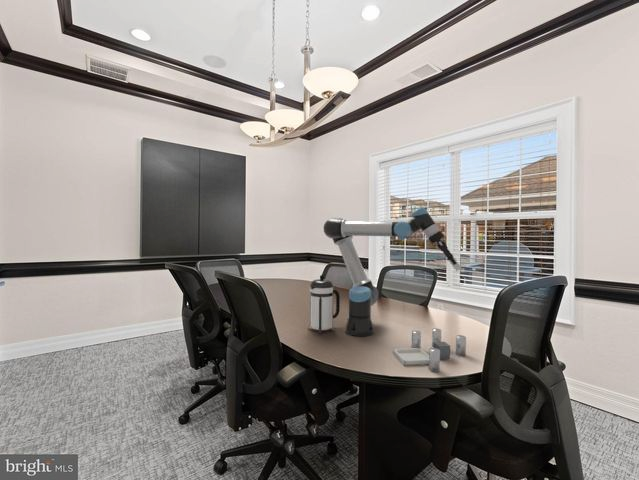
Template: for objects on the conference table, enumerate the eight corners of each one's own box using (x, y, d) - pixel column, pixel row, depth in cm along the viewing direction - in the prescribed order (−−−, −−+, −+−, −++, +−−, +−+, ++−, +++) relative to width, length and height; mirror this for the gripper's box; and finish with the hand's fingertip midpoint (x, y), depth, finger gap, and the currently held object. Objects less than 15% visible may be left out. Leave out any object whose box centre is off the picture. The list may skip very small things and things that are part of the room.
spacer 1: (413, 350, 139) (413, 333, 139) (410, 347, 143) (410, 330, 143) (422, 350, 140) (422, 333, 139) (418, 347, 144) (418, 330, 143)
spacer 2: (434, 348, 143) (434, 331, 142) (430, 345, 147) (430, 328, 146) (442, 347, 143) (443, 330, 143) (438, 344, 147) (438, 328, 147)
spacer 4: (458, 356, 133) (459, 338, 133) (453, 352, 137) (454, 335, 137) (467, 356, 134) (468, 338, 134) (462, 352, 138) (462, 334, 138)
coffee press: (334, 335, 159) (335, 277, 158) (304, 333, 162) (305, 276, 161) (339, 325, 176) (340, 273, 174) (312, 323, 179) (312, 272, 178)
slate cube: (438, 360, 130) (439, 346, 129) (433, 355, 135) (433, 342, 134) (450, 359, 130) (450, 345, 130) (443, 355, 135) (444, 341, 135)
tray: (404, 365, 124) (404, 361, 124) (393, 353, 136) (393, 348, 136) (433, 364, 125) (433, 359, 125) (420, 352, 138) (420, 347, 138)
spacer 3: (431, 372, 118) (432, 352, 118) (426, 368, 122) (427, 348, 122) (441, 372, 119) (442, 351, 118) (436, 367, 123) (436, 347, 122)
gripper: (440, 229, 148) (467, 266, 144) (439, 231, 172) (462, 263, 168) (427, 237, 150) (452, 275, 146) (427, 238, 174) (450, 270, 170)
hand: (458, 268), depth 157 cm, fingers open, 13 cm apart
